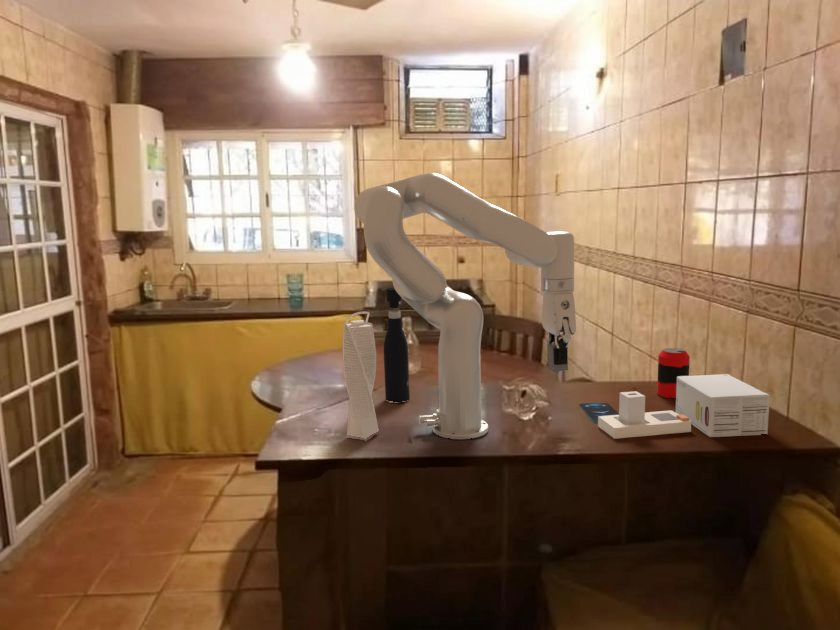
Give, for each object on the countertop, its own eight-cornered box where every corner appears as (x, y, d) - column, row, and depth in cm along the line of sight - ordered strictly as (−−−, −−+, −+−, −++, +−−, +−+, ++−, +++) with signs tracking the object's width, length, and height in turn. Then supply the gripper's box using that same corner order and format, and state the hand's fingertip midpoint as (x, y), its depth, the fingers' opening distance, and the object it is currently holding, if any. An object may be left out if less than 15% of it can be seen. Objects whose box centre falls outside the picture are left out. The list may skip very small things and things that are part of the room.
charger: (627, 432, 141) (628, 397, 139) (618, 426, 144) (619, 392, 143) (644, 431, 141) (645, 395, 140) (635, 425, 145) (636, 390, 144)
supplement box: (673, 413, 154) (675, 375, 152) (727, 410, 155) (729, 373, 153) (709, 438, 137) (711, 396, 136) (768, 435, 138) (771, 393, 136)
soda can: (679, 401, 163) (681, 355, 161) (651, 395, 168) (653, 350, 166) (693, 394, 168) (695, 350, 166) (665, 389, 173) (667, 346, 171)
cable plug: (553, 371, 150) (552, 344, 149) (548, 368, 153) (546, 341, 152) (568, 369, 150) (566, 342, 149) (562, 366, 154) (560, 339, 152)
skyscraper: (359, 428, 150) (353, 310, 145) (386, 432, 146) (381, 311, 141) (339, 439, 143) (333, 315, 138) (368, 444, 139) (362, 317, 135)
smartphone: (608, 402, 163) (627, 421, 148) (607, 404, 163) (627, 424, 148) (577, 403, 163) (594, 422, 148) (577, 405, 163) (594, 424, 148)
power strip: (614, 438, 138) (614, 425, 137) (598, 426, 146) (598, 413, 145) (690, 431, 141) (691, 418, 140) (671, 420, 149) (671, 407, 148)
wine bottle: (383, 398, 172) (378, 287, 168) (405, 395, 174) (402, 286, 169) (389, 404, 166) (384, 290, 161) (412, 402, 168) (408, 289, 163)
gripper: (587, 288, 141) (586, 369, 144) (559, 280, 157) (559, 353, 160) (555, 290, 140) (555, 372, 143) (530, 282, 156) (530, 355, 159)
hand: (557, 361), depth 151 cm, fingers closed on cable plug, 3 cm apart
